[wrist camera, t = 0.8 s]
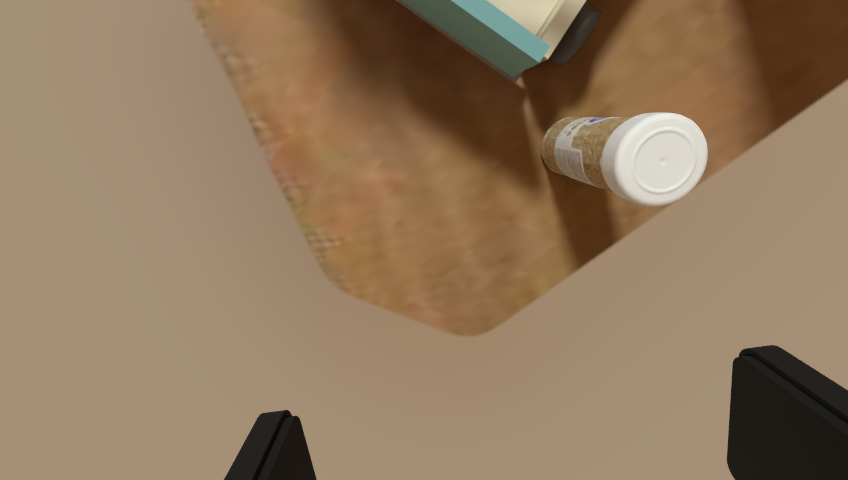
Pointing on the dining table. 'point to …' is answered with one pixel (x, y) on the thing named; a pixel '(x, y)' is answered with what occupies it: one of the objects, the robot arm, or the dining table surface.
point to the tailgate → (483, 33)
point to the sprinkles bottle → (629, 155)
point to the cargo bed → (554, 23)
